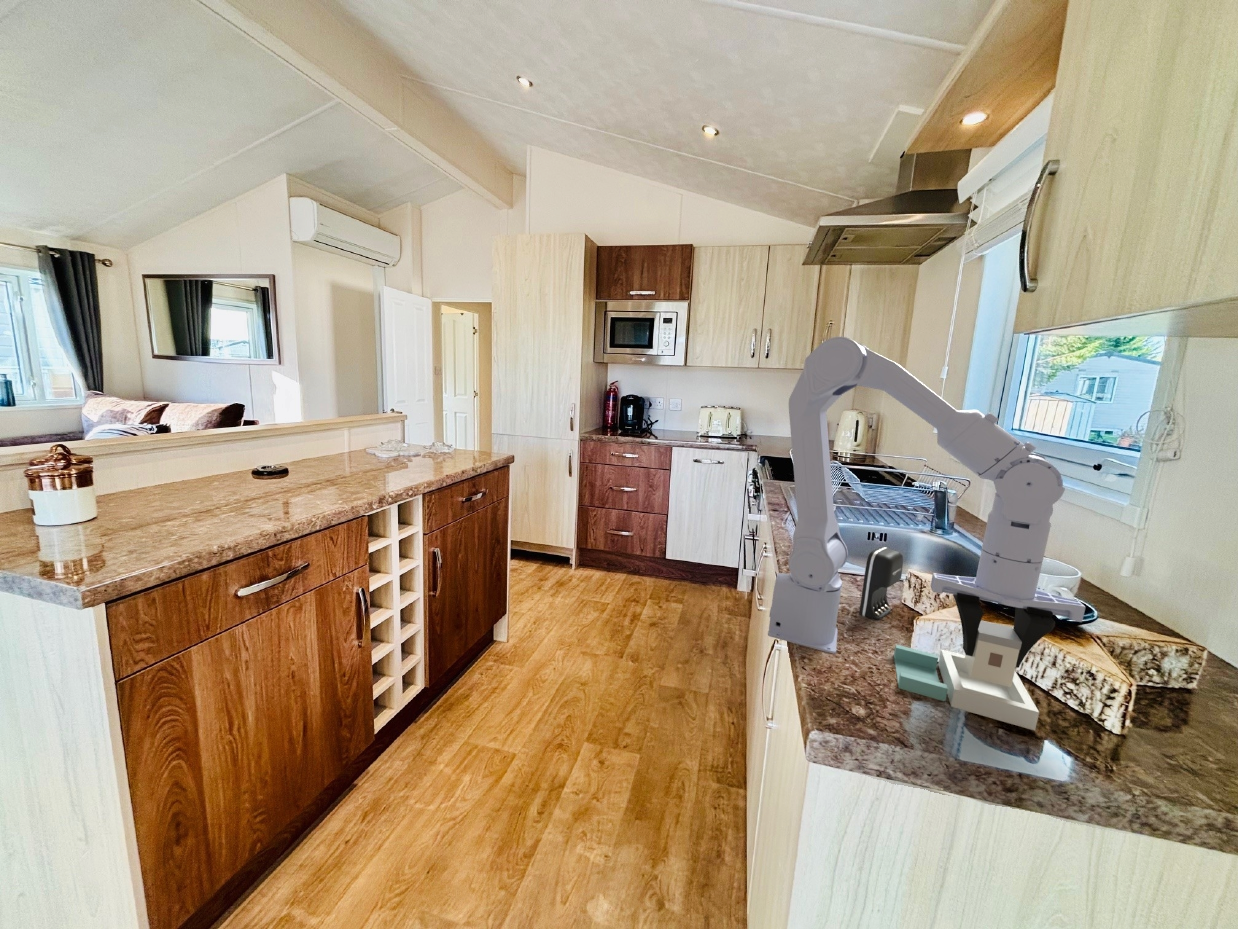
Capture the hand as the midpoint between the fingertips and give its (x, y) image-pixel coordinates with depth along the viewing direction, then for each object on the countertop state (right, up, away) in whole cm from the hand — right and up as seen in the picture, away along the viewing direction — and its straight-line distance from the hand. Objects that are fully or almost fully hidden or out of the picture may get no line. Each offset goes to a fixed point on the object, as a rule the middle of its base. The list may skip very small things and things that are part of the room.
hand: (989, 657), depth 59 cm
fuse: (0, -2, 0) cm, 2 cm away
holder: (-7, -4, +4) cm, 9 cm away
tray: (0, -5, +1) cm, 5 cm away
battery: (-2, -2, +22) cm, 22 cm away
